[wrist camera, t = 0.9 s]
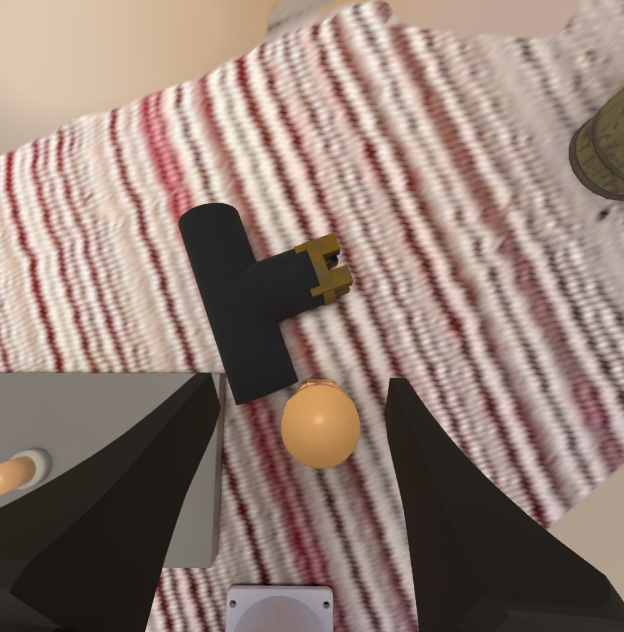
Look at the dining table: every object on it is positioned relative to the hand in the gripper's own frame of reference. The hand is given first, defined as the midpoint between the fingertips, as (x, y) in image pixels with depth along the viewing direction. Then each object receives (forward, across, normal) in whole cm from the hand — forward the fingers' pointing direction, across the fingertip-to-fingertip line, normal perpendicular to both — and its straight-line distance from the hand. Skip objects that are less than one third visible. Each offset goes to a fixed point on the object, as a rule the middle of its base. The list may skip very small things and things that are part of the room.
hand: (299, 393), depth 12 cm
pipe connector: (+15, +4, +3) cm, 15 cm away
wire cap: (+8, 0, +10) cm, 13 cm away
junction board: (+5, +18, +13) cm, 22 cm away
